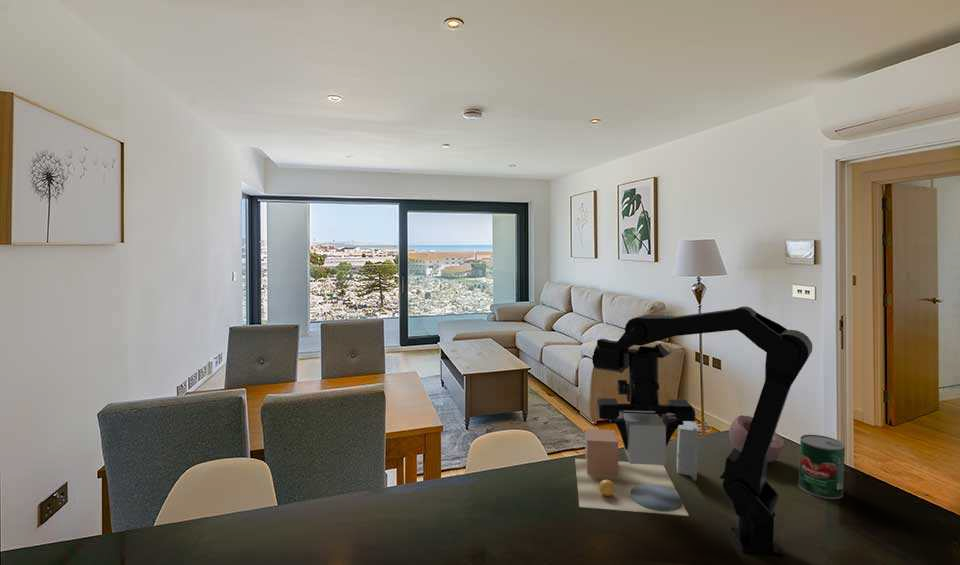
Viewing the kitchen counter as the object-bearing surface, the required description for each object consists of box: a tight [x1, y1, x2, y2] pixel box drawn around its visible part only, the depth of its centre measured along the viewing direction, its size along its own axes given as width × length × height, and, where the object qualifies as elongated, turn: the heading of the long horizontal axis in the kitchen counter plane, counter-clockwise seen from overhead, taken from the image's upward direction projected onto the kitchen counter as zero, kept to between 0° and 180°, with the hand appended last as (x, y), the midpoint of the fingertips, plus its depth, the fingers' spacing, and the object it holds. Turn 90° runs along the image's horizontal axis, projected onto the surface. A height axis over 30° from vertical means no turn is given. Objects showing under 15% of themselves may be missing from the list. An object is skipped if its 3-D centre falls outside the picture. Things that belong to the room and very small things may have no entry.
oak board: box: [574, 458, 690, 517], centre depth 101 cm, size 22×21×2 cm
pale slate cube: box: [623, 413, 667, 466], centre depth 94 cm, size 7×7×8 cm
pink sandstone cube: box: [584, 428, 619, 476], centre depth 108 cm, size 7×7×8 cm
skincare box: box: [675, 421, 700, 482], centre depth 107 cm, size 6×4×12 cm
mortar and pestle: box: [728, 414, 786, 464], centre depth 113 cm, size 12×12×12 cm
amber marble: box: [599, 480, 615, 496], centre depth 96 cm, size 3×3×3 cm
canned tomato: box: [797, 434, 846, 500], centre depth 99 cm, size 8×8×11 cm
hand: (644, 449), depth 94 cm, fingers closed on pale slate cube, 7 cm apart
